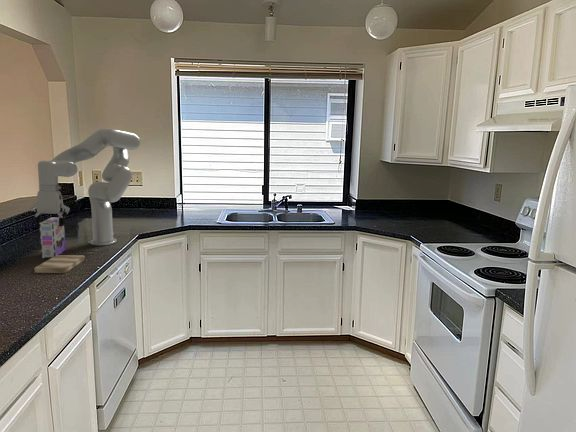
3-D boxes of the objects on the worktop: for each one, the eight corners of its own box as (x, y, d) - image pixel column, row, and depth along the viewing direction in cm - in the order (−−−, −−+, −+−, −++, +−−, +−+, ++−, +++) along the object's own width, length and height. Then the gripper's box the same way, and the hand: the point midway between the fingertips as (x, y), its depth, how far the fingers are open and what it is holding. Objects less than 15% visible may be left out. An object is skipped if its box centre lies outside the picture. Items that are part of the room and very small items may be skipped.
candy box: (55, 258, 184) (52, 222, 181) (41, 258, 183) (38, 222, 180) (66, 250, 198) (64, 216, 195) (53, 250, 197) (50, 216, 194)
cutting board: (57, 259, 183) (56, 255, 183) (84, 259, 184) (84, 255, 183) (34, 272, 165) (34, 267, 165) (65, 272, 166) (65, 268, 166)
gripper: (72, 188, 189) (73, 224, 192) (33, 186, 188) (35, 223, 191) (64, 190, 181) (66, 227, 184) (24, 188, 180) (26, 226, 183)
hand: (50, 225), depth 187 cm, fingers open, 9 cm apart
